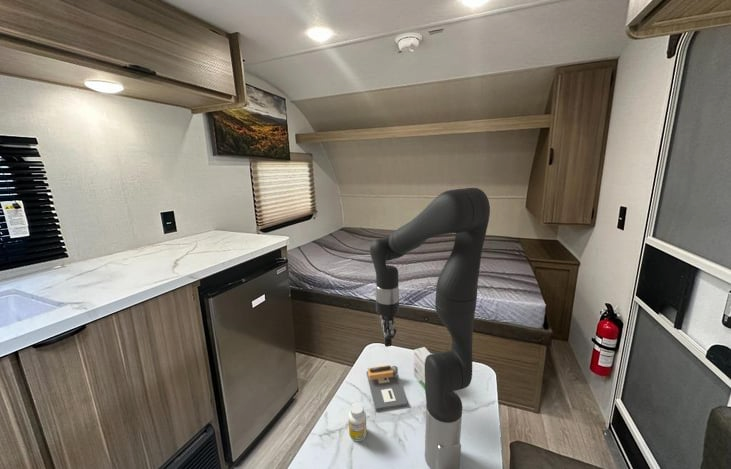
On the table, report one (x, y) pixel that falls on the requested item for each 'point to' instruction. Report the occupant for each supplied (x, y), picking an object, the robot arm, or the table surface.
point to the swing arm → (382, 372)
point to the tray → (387, 393)
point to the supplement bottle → (357, 422)
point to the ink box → (420, 364)
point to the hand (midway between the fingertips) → (387, 345)
